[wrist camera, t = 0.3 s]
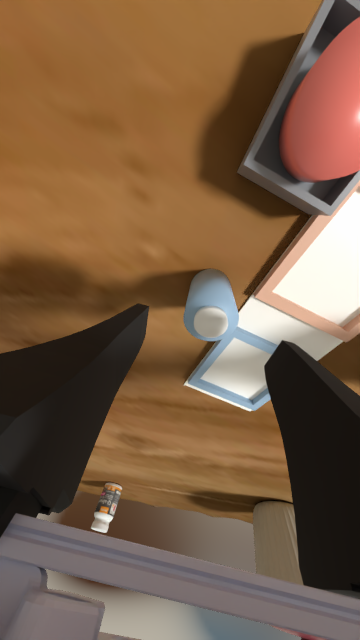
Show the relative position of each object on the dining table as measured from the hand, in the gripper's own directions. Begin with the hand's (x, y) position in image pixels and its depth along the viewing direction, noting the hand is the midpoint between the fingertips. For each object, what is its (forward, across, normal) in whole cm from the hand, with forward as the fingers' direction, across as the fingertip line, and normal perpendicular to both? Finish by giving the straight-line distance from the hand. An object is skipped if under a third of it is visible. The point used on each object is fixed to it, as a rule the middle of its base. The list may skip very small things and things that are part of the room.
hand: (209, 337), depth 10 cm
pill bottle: (+10, +9, +76) cm, 77 cm away
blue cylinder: (+10, 0, +1) cm, 10 cm away
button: (+7, -3, -11) cm, 13 cm away
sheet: (+10, -10, +4) cm, 14 cm away
